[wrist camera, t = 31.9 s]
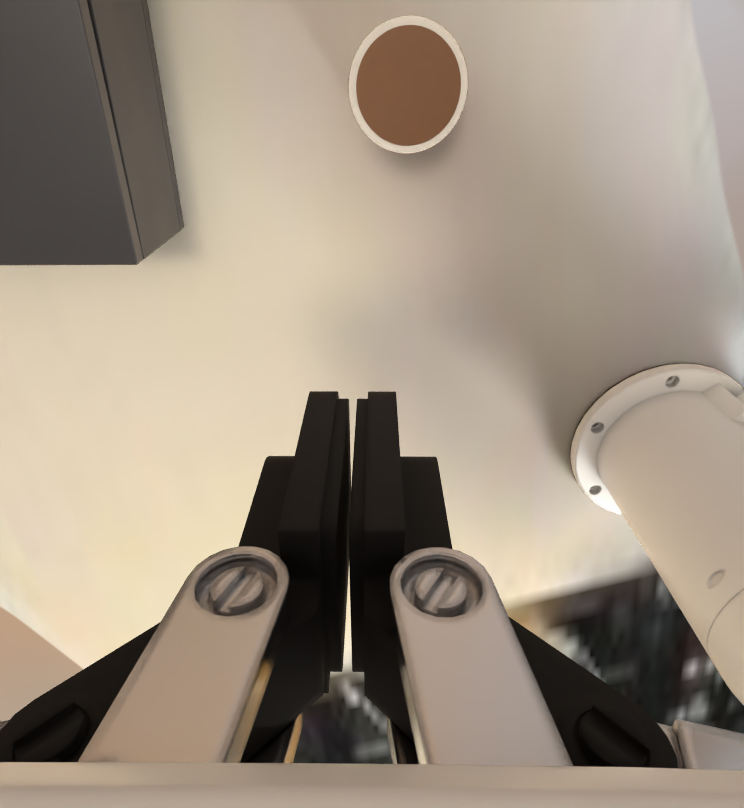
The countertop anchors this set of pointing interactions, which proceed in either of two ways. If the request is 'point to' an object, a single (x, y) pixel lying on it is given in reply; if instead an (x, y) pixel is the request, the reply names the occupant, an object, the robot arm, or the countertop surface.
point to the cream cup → (408, 84)
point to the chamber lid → (58, 143)
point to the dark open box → (138, 117)
